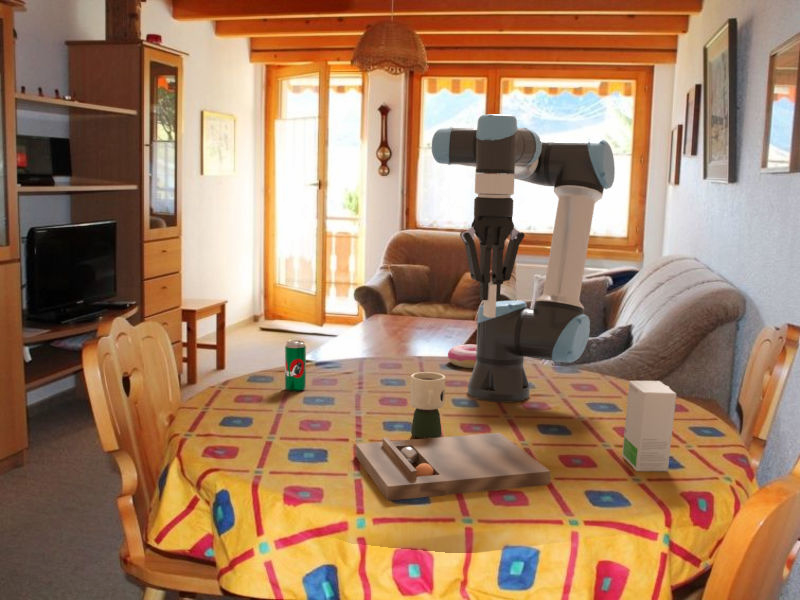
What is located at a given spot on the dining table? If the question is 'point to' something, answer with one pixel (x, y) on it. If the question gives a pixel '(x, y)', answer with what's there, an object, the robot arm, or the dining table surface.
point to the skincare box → (649, 425)
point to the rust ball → (424, 470)
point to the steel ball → (409, 454)
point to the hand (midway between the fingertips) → (489, 316)
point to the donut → (463, 355)
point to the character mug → (427, 403)
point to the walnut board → (450, 466)
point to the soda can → (295, 365)
